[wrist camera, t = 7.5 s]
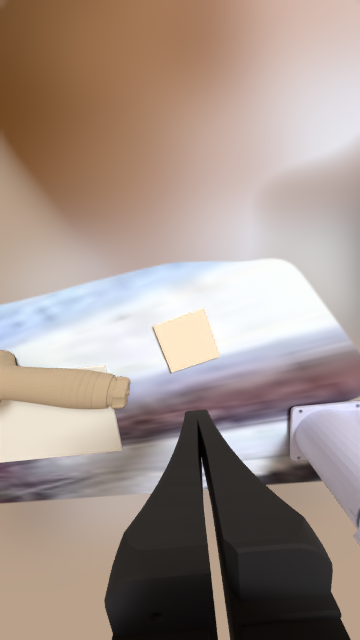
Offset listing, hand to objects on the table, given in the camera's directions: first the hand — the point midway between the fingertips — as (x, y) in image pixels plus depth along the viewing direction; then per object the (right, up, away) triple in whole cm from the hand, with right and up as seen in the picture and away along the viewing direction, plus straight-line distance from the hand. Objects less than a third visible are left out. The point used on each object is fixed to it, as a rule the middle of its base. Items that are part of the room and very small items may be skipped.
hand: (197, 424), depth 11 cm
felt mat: (-19, -6, +12) cm, 23 cm away
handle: (-7, -2, +9) cm, 11 cm away
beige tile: (0, +4, +10) cm, 11 cm away
